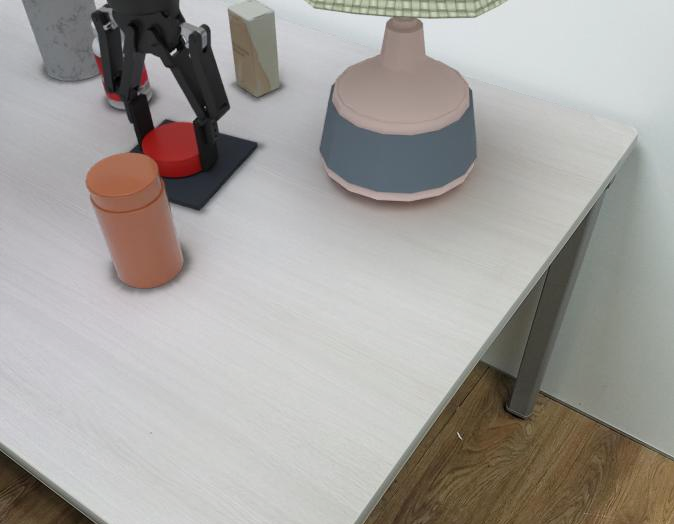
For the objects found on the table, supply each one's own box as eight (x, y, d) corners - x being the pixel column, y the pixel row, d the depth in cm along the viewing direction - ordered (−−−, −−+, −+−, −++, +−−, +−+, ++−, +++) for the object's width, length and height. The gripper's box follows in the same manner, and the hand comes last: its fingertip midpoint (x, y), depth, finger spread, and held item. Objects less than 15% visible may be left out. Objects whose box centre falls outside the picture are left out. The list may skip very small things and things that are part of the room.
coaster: (102, 181, 86) (101, 177, 85) (166, 122, 94) (165, 118, 93) (199, 210, 82) (198, 206, 81) (257, 146, 90) (257, 142, 89)
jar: (103, 277, 75) (67, 185, 66) (142, 235, 79) (114, 144, 70) (159, 296, 73) (131, 204, 64) (196, 253, 77) (174, 161, 68)
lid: (194, 130, 91) (191, 114, 89) (225, 161, 86) (222, 144, 85) (135, 153, 88) (130, 136, 86) (164, 186, 83) (160, 169, 82)
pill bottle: (107, 91, 99) (84, 13, 91) (150, 84, 100) (131, 6, 92) (109, 114, 95) (85, 35, 87) (154, 107, 96) (135, 28, 88)
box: (235, 84, 100) (224, 6, 91) (260, 73, 102) (251, -4, 93) (257, 99, 97) (248, 19, 89) (282, 87, 99) (275, 9, 91)
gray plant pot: (121, 50, 107) (98, -34, 98) (96, 83, 101) (69, -4, 92) (62, 46, 108) (34, -38, 99) (34, 78, 102) (2, -8, 93)
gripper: (27, -41, 70) (91, 151, 88) (206, -6, 64) (237, 193, 82) (75, -68, 75) (127, 120, 92) (247, -37, 69) (268, 158, 86)
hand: (179, 154), depth 87 cm, fingers closed on lid, 8 cm apart
